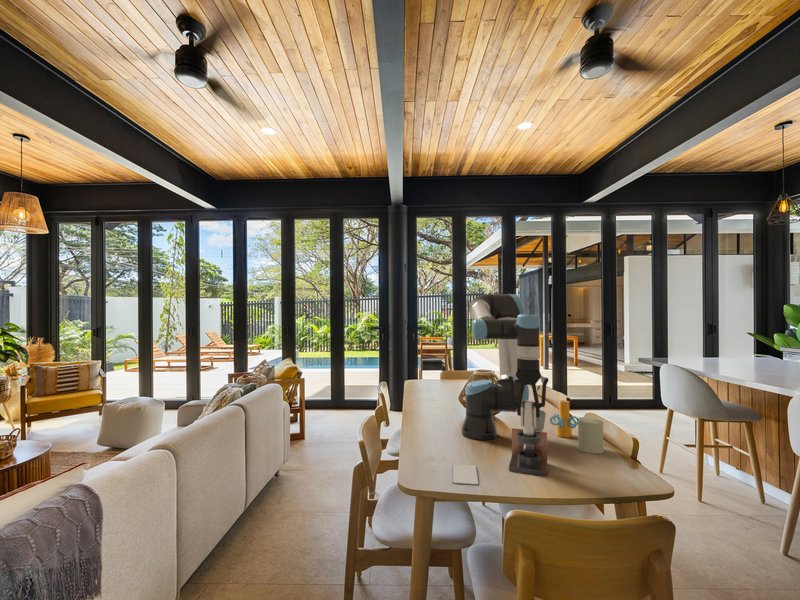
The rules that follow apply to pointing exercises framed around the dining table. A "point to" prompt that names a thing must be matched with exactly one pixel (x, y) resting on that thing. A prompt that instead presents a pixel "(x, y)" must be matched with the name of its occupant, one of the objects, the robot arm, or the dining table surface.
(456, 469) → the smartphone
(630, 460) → the dining table surface
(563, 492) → the dining table surface
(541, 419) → the coffee maker
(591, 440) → the can
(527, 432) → the silver metal tube
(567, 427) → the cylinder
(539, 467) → the collar stand
